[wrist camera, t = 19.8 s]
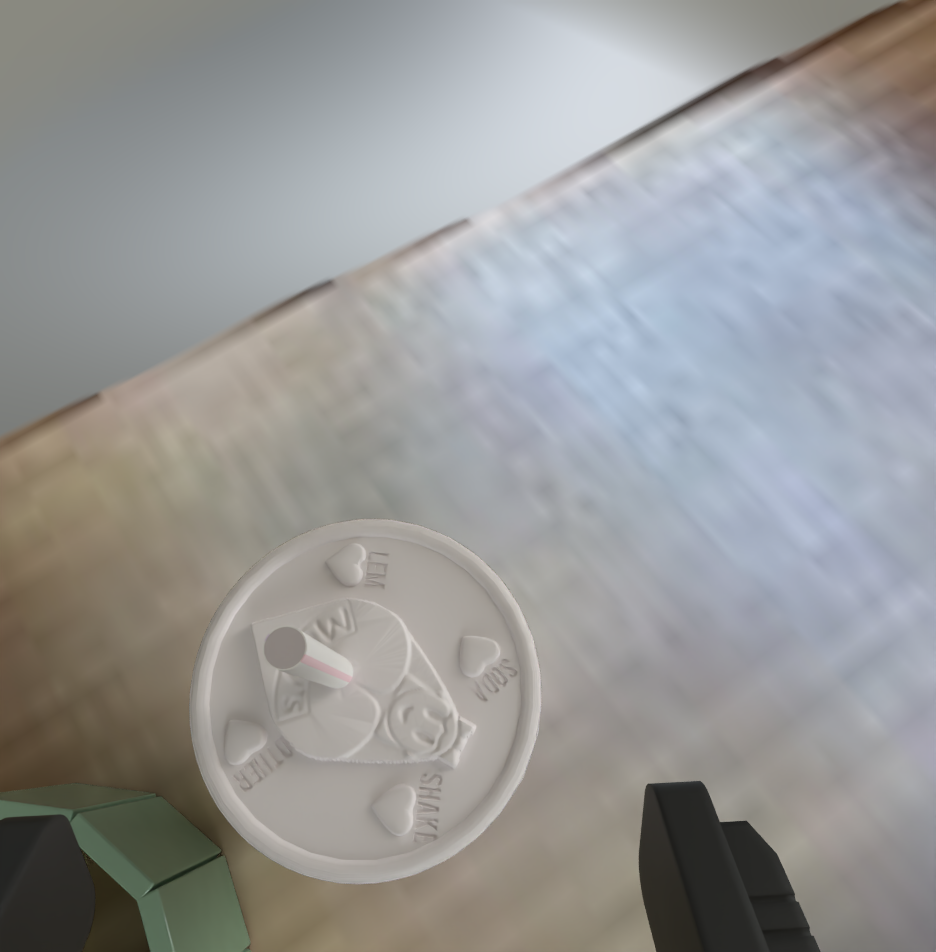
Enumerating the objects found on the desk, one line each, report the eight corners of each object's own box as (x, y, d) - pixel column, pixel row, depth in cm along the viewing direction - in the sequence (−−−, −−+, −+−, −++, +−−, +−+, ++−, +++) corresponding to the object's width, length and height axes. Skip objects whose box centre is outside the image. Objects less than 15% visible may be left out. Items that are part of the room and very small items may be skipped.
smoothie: (367, 561, 24) (249, 354, 11) (550, 660, 23) (664, 566, 10) (255, 752, 22) (-51, 783, 9) (448, 868, 22) (421, 1089, 8)
